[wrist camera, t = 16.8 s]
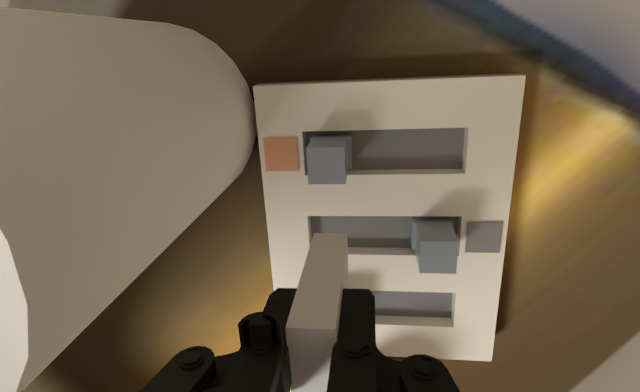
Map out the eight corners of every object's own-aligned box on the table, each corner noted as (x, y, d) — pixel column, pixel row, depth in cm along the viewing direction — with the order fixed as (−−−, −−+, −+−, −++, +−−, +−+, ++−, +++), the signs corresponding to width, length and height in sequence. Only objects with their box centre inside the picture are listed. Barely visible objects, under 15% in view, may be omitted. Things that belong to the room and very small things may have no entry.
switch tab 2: (410, 244, 39) (415, 273, 35) (411, 216, 38) (417, 241, 34) (449, 245, 39) (459, 273, 34) (451, 216, 38) (462, 241, 33)
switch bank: (285, 333, 47) (279, 352, 44) (261, 82, 38) (252, 86, 35) (484, 341, 44) (492, 362, 41) (513, 72, 35) (526, 75, 32)
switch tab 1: (313, 166, 38) (304, 184, 33) (311, 134, 37) (302, 148, 32) (352, 165, 37) (349, 183, 33) (351, 133, 36) (348, 147, 32)
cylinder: (235, 7, 36) (-137, -87, 10) (271, 193, 41) (98, 448, 15) (61, 37, 38) (-592, 27, 12) (117, 207, 44) (-250, 443, 18)
